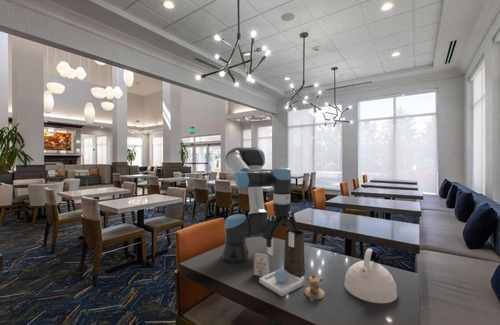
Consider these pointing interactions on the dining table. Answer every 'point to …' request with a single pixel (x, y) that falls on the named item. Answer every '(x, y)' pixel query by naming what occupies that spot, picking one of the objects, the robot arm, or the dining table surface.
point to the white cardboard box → (261, 264)
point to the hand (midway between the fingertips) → (281, 250)
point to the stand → (314, 288)
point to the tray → (278, 287)
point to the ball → (281, 275)
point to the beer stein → (294, 254)
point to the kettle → (370, 280)
